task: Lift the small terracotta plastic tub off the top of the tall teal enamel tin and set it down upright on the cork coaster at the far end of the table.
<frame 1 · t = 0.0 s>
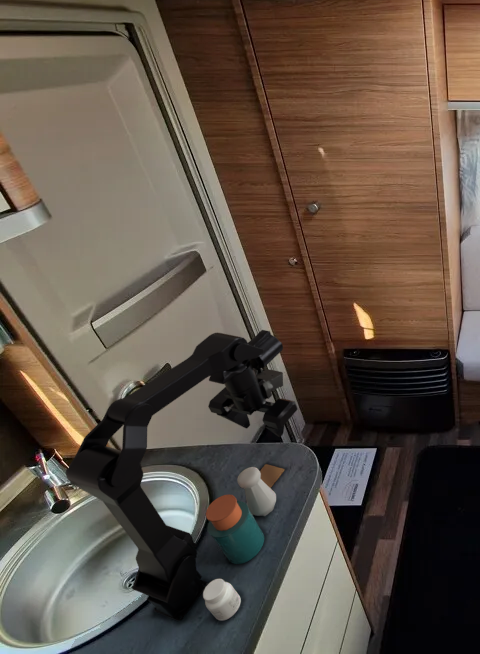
hand: (264, 431, 97), 15 cm above the worktop, tool pointing down, fingers open, 9 cm apart
salt shaker: (265, 508, 96), on the worktop
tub: (228, 518, 83), point 11 cm above the worktop, touching tin
pill bottle: (228, 607, 80), on the worktop
coaster: (267, 477, 102), on the worktop
tin: (246, 546, 89), on the worktop, touching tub
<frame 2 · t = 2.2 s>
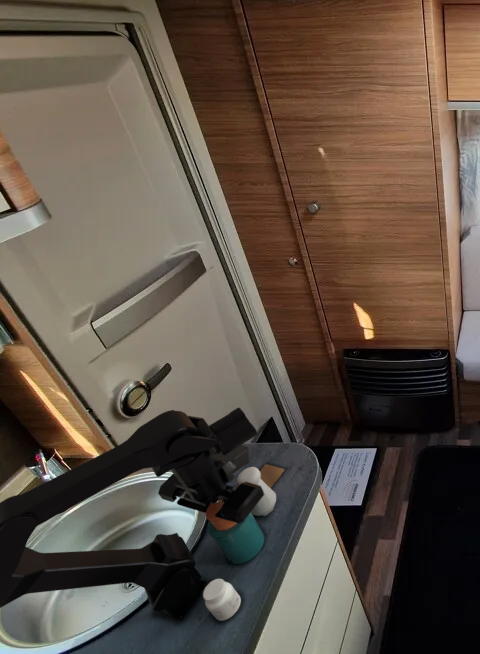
hand: (226, 516, 83), 12 cm above the worktop, tool pointing down, fingers closed on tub, 5 cm apart
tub: (228, 518, 83), point 11 cm above the worktop, touching gripper, tin
everything else where it was.
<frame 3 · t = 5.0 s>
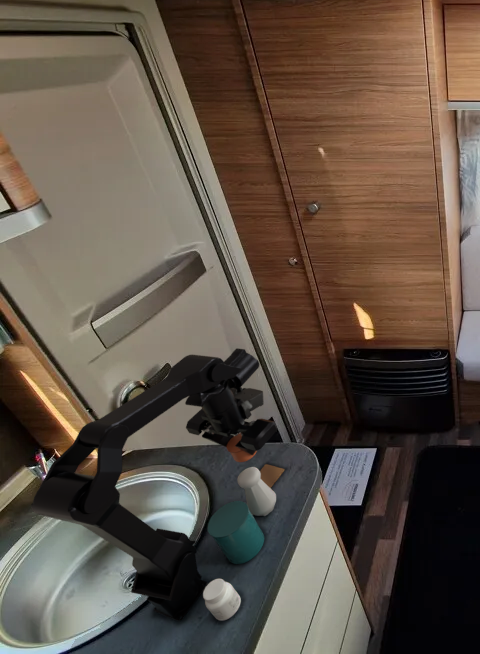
hand: (244, 450, 95), 12 cm above the worktop, tool pointing down, fingers closed on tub, 5 cm apart
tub: (245, 452, 95), point 11 cm above the worktop, touching gripper
tin: (246, 546, 89), on the worktop
everything else where it was.
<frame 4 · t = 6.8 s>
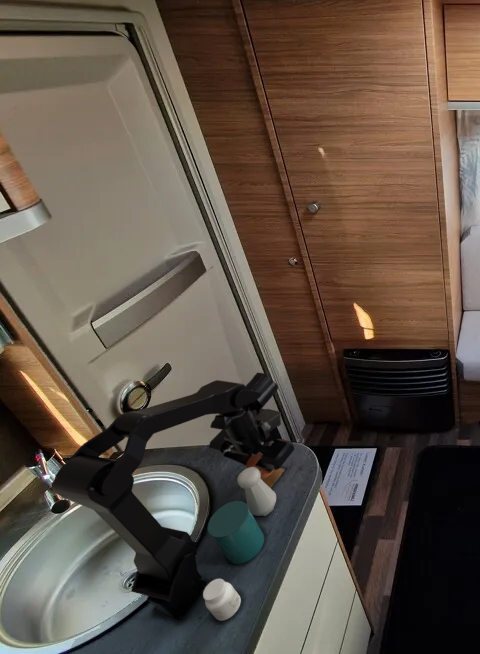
hand: (262, 468, 100), 4 cm above the worktop, tool pointing down, fingers closed on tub, 5 cm apart
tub: (263, 470, 101), point 3 cm above the worktop, touching gripper
everything else where it was.
when the fingers open (1 cm above the worktop, at t = 8.0 s): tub stays where it is, resting on coaster.
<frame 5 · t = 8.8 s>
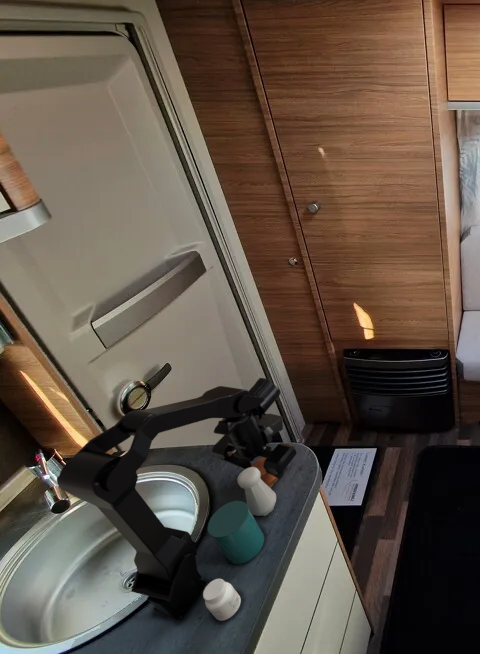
hand: (265, 472, 101), 2 cm above the worktop, tool pointing down, fingers open, 9 cm apart
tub: (266, 476, 102), resting on coaster
everything else where it was.
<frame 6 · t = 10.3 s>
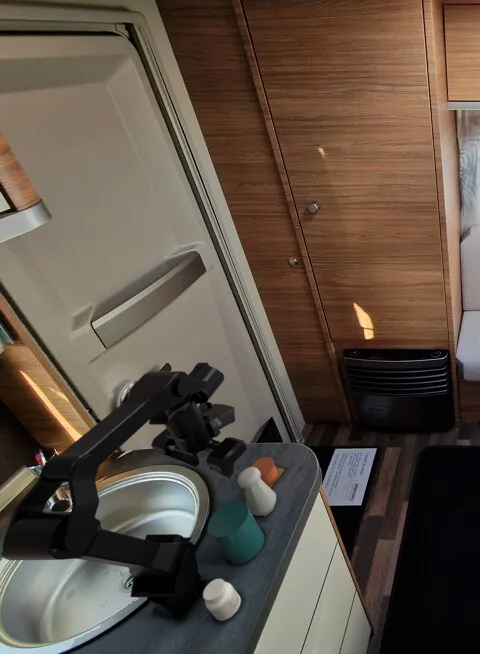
hand: (213, 470, 90), 13 cm above the worktop, tool pointing down, fingers open, 9 cm apart
nothing on the worktop moved.
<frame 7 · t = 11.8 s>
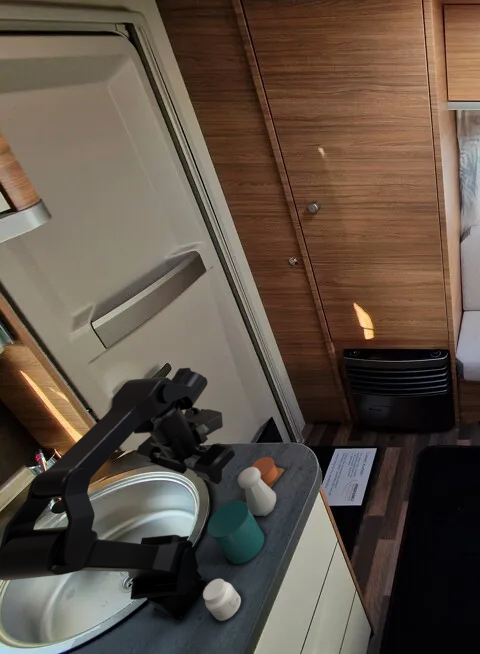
hand: (201, 476, 89), 13 cm above the worktop, tool pointing down, fingers open, 9 cm apart
nothing on the worktop moved.
at the end: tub 0.0 cm off-centre on the coaster, point 0.4 cm above the coaster's base; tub tilted 0°; tin moved 0.0 cm from its start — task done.
